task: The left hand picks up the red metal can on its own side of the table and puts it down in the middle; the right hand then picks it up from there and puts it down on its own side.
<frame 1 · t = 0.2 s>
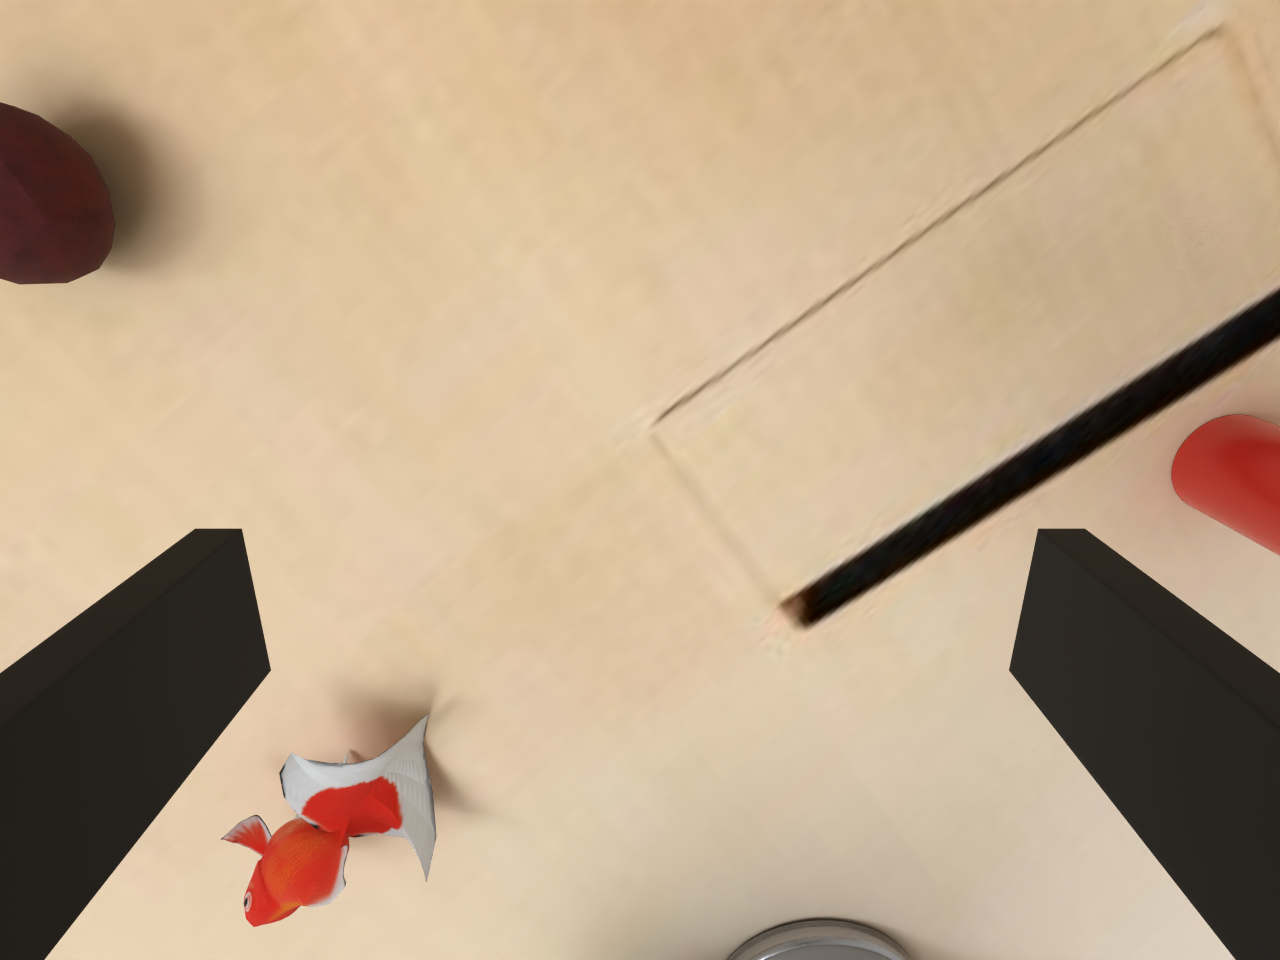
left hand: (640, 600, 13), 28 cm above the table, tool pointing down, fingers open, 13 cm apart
can: (1222, 463, 41), on the table
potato: (73, 199, 36), on the table
fish: (360, 767, 48), on the table
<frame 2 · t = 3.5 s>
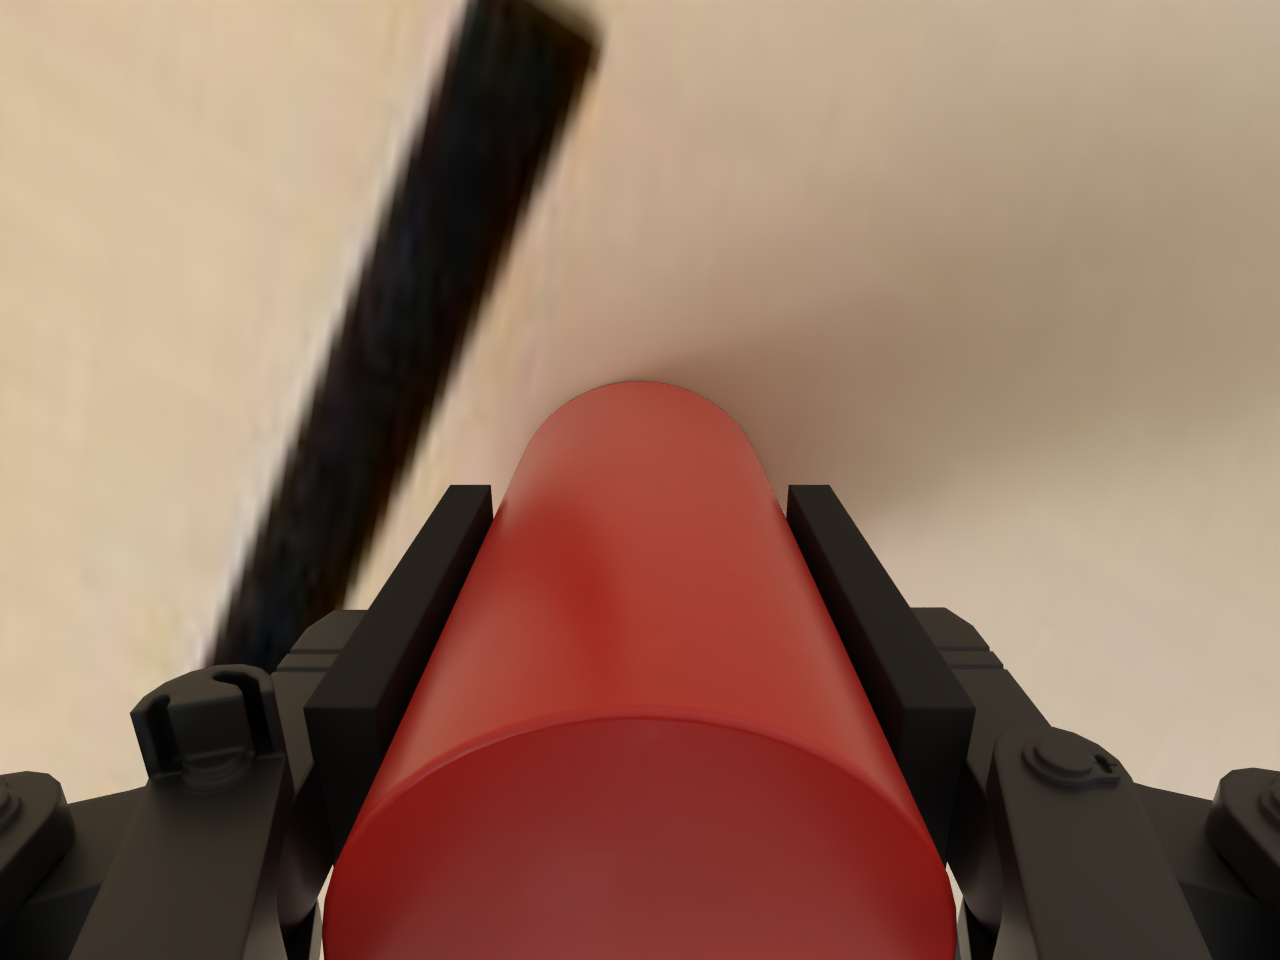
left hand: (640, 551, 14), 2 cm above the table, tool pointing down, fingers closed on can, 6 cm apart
can: (639, 503, 17), on the table, touching left hand
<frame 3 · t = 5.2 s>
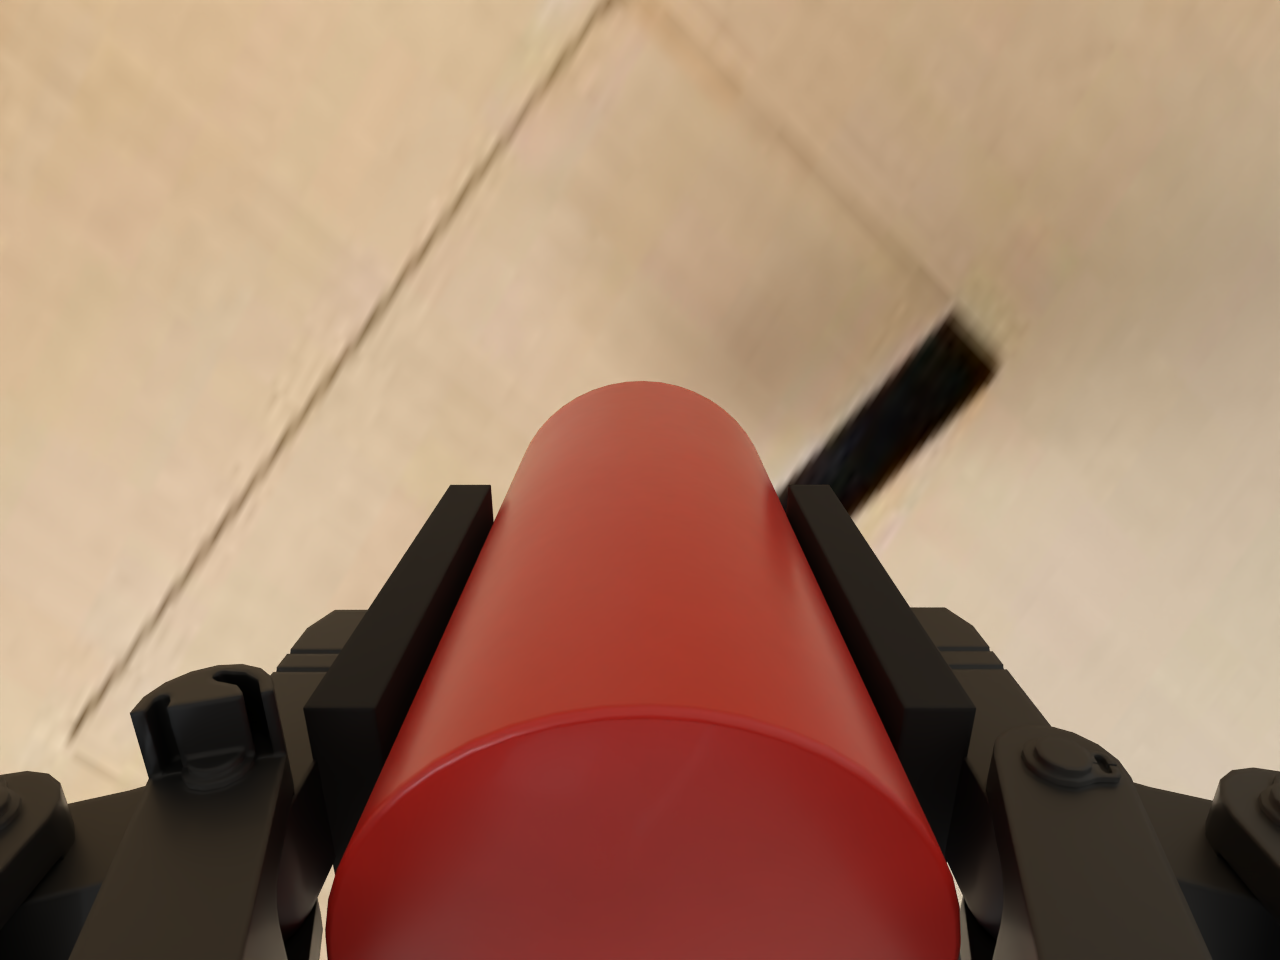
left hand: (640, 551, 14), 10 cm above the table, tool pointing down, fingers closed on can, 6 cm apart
can: (641, 503, 17), point 7 cm above the table, touching left hand
when the left hand's fingers open (4 cm above the table, at t = 7.0 s): can drops 1 cm, on the table.
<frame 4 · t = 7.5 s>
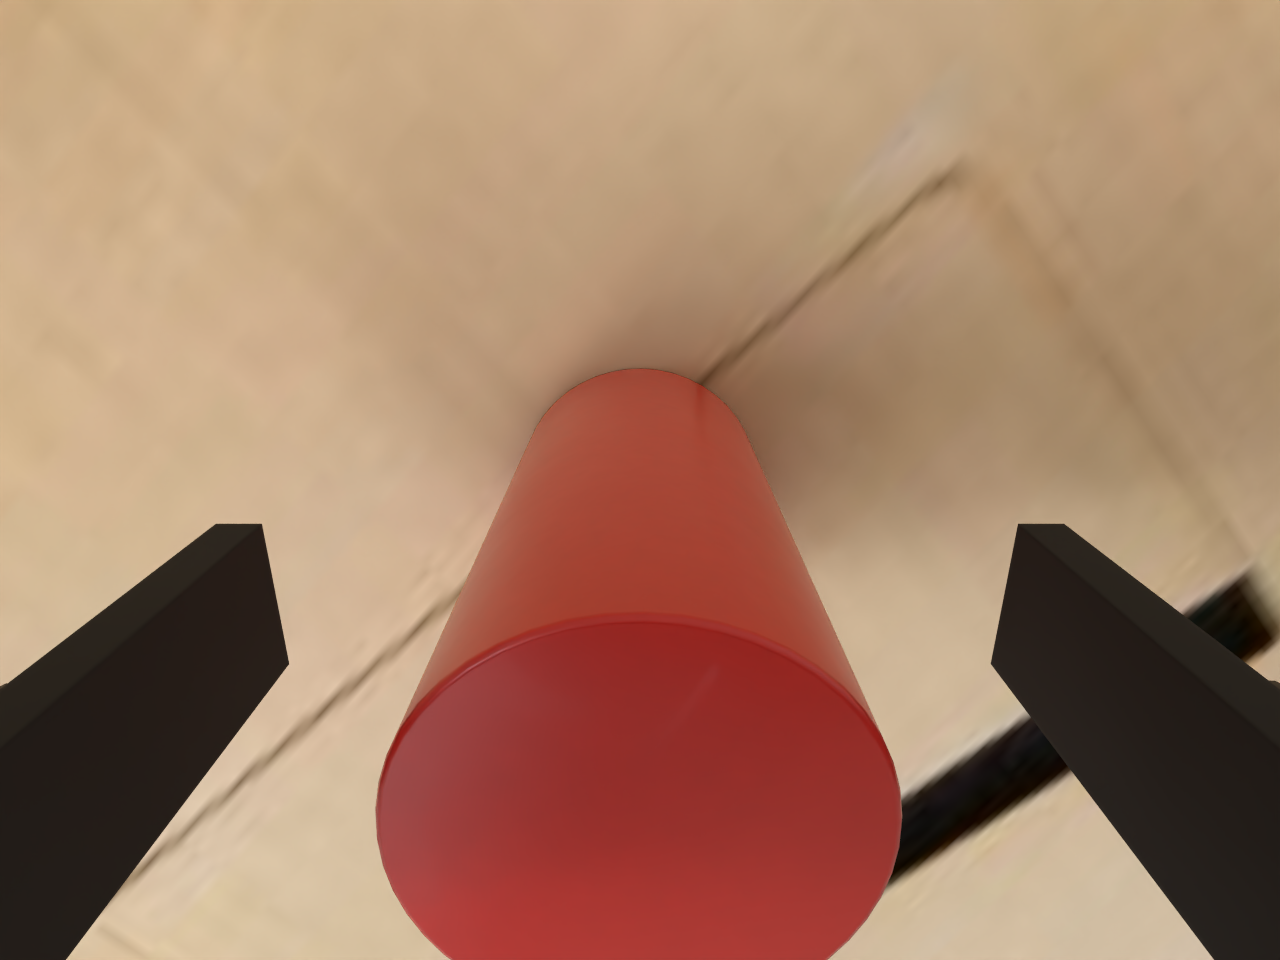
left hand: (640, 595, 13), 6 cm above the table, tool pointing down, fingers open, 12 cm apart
can: (639, 482, 18), on the table
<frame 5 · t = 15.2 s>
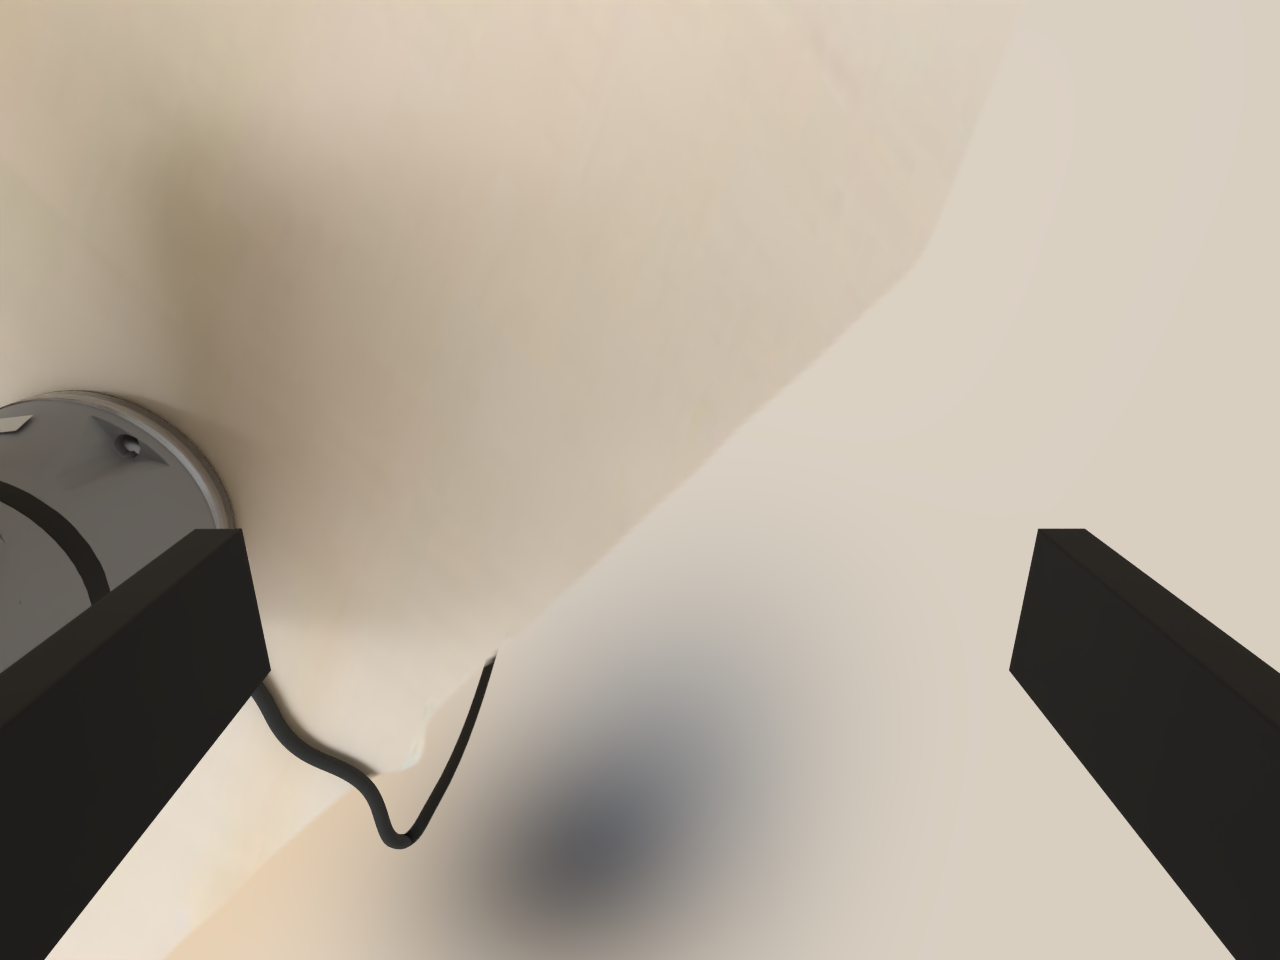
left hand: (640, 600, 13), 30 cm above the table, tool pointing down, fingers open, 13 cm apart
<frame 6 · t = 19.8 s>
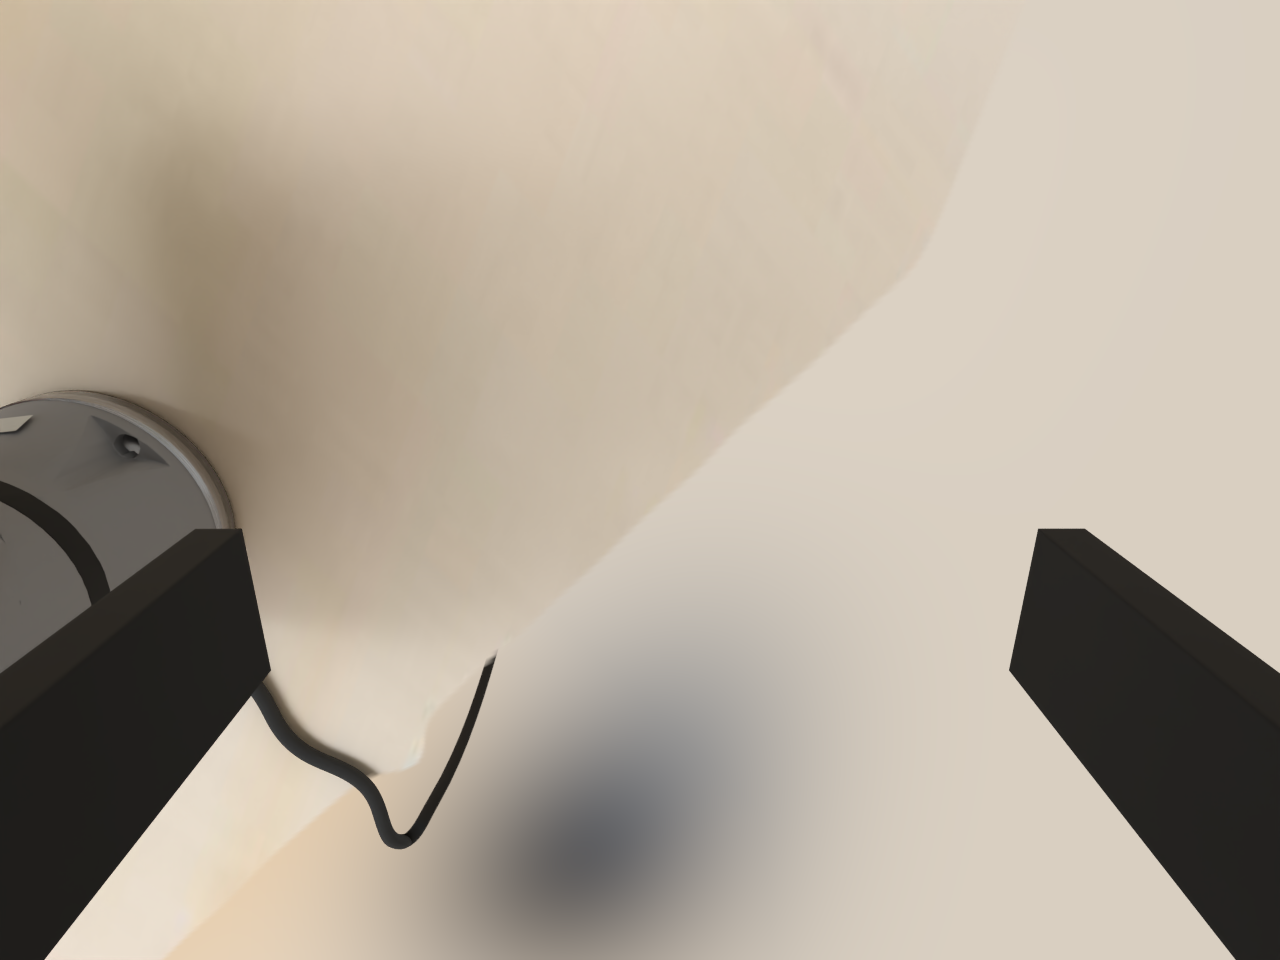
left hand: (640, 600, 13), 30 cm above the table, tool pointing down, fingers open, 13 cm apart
when the right hand's fingers open (4 cm above the table, at t = 24.6 s): can drops 1 cm, on the table.
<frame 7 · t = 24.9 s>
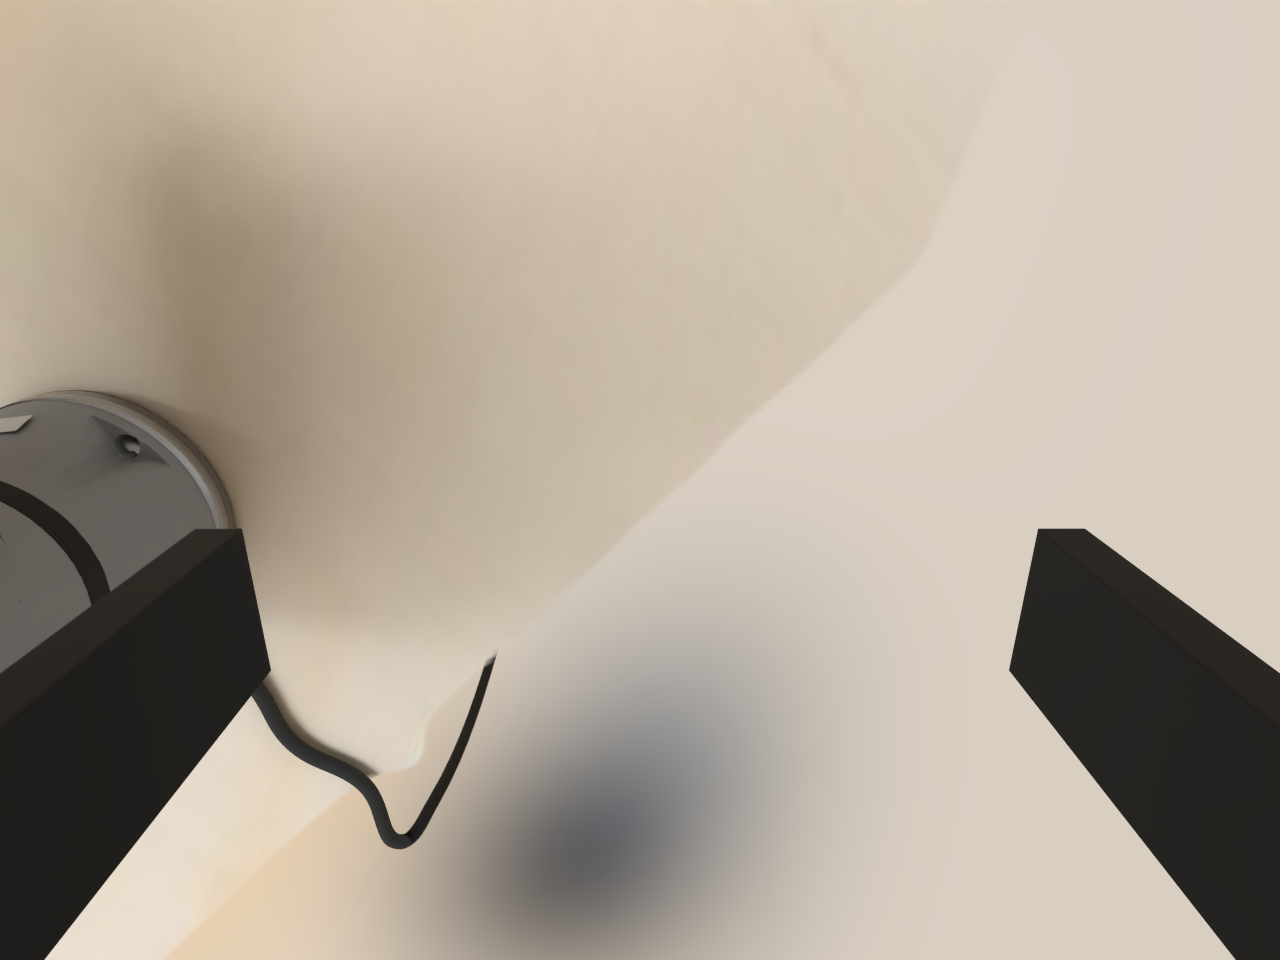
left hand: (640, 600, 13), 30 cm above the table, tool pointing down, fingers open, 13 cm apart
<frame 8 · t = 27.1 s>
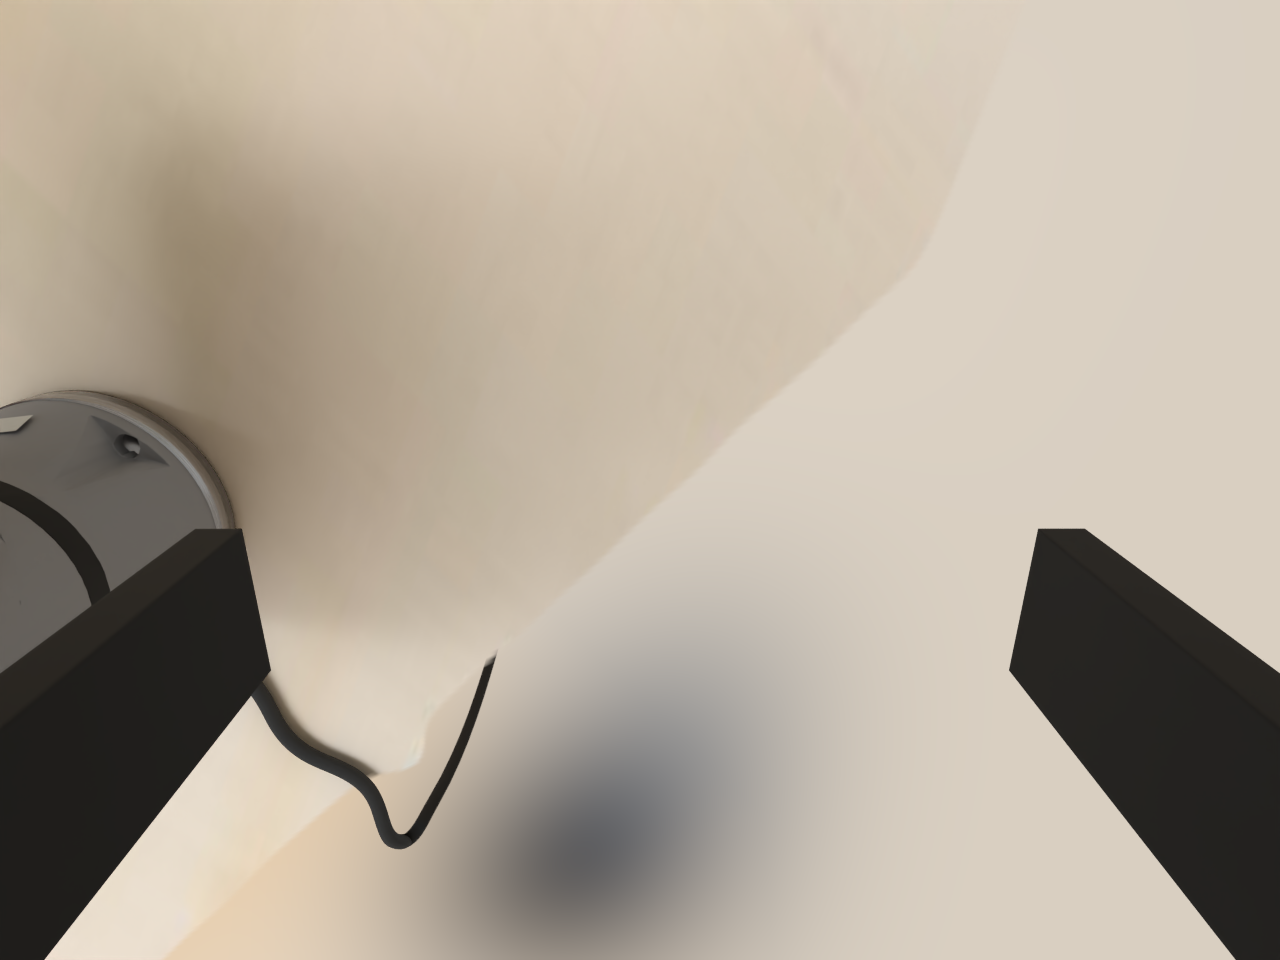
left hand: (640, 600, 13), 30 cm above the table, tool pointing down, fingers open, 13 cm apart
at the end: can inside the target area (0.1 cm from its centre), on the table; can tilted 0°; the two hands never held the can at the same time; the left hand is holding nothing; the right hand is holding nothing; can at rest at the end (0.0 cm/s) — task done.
